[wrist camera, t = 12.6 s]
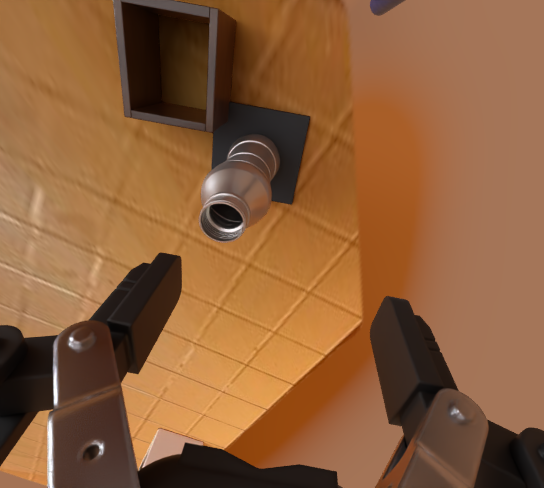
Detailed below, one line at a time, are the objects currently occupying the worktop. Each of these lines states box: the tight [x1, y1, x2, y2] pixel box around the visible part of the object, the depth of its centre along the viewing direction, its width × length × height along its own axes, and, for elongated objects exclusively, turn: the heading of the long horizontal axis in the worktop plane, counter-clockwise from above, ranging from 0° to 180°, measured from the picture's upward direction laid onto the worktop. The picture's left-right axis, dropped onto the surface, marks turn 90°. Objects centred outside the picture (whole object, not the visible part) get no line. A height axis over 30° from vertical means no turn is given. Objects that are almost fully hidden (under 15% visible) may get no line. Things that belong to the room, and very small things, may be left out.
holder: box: [113, 0, 236, 133], centre depth 32 cm, size 11×10×8 cm
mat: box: [212, 102, 310, 204], centre depth 40 cm, size 12×12×1 cm
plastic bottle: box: [199, 134, 280, 243], centre depth 31 cm, size 6×7×20 cm
